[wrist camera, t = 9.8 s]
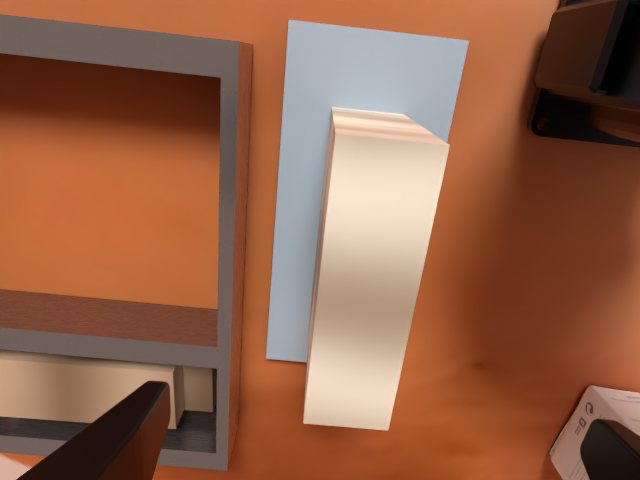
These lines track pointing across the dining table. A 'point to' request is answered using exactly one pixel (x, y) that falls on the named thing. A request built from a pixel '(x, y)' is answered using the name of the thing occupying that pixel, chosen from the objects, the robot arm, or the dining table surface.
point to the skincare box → (595, 404)
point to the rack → (132, 317)
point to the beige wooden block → (368, 263)
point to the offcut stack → (93, 386)
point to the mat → (313, 129)
